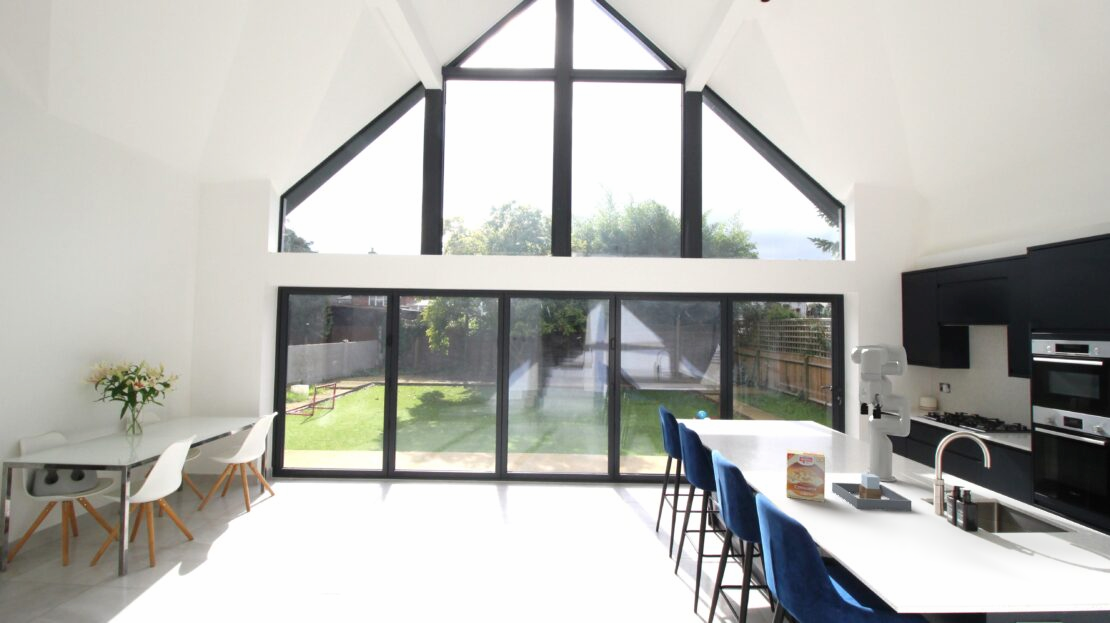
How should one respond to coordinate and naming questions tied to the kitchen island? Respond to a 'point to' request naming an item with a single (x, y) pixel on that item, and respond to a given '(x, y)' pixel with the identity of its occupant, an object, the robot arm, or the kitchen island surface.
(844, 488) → the grey square tray
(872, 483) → the pale blue box
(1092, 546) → the kitchen island surface
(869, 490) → the walnut block
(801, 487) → the coffeecake box
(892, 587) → the kitchen island surface
